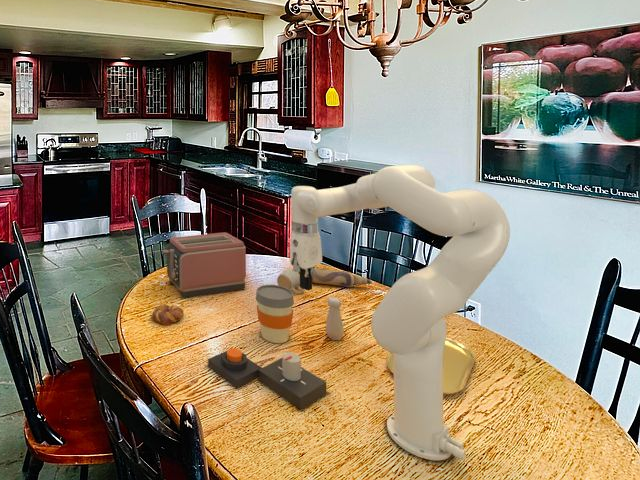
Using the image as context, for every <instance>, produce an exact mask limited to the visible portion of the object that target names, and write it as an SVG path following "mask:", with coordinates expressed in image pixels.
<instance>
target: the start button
mask: <svg viewBox="0 0 640 480" xmlns="http://www.w3.org/2000/svg"><path fill="white" fill-rule="evenodd" d="M226 351H227V359H228V360H229V361H231V362H240V361H242V353H243V352H242V351H241V350H240V349H238V348H234V347H231V348H228V349H227V350H226Z"/></svg>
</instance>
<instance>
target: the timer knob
mask: <svg viewBox="0 0 640 480" xmlns="http://www.w3.org/2000/svg"><path fill="white" fill-rule="evenodd" d="M281 358H282V374H283V376H284V377H285V378H286V379H288V380H291V381H298V380H300V378H301V367H302V366H301V365H302V364H301V363H302V361H301V360H302V359H301V356H300V355H299V354H297V353H294V352H289V351H287V352H283V353H282V354H281Z"/></svg>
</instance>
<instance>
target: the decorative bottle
mask: <svg viewBox="0 0 640 480" xmlns="http://www.w3.org/2000/svg"><path fill="white" fill-rule="evenodd" d="M313 283H314V284H321V285H329V286H330V285H331V286H339V287H344V288H349V289H350V288H352V287H355V286H359V285H364V286H367V285H371V284H372V280H371V279H369V278H367V277H361V276H359V275H353V273H352V272H350V271H346V270H335V269H329V268H317V267H315V268H314V270H313V275H312V284H313Z"/></svg>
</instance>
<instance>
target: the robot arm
mask: <svg viewBox="0 0 640 480" xmlns="http://www.w3.org/2000/svg"><path fill="white" fill-rule="evenodd" d="M435 186H436V181H435V178H434V176H433V174H432V173H431V172H430V170H428V169H427V168H425V167H423V166H421V165H417V164H400V165H389V166H385V167H382V168H381V169H379V170H377V172H375V173H370V174H366V175H363V176H361V177H359V178H358V179H357V181H356V182H355V183H351V184H347V185H343V186H338V187H330V188H322V189H317V188H315V187H313V186H309V185H296V186H293V187H292V188H291V190H290V191H291V192H290V196H291V197H290V199H291V201H290V204H291V205H290V206H291V236H290V244H289V245H290V246H289V261H290V265H291V266H292V269H293V271H294V272H297V273H298V274H299V275H300V287H301V288H303V289H304V290H306V291H310V290H313V283H312V275H313V270H314V268H317V266H320V265H321V264H322V263H323V248H322V238H321V235H320V231H319V218H323V217H329V216H333V215H341V214H347V213H351V212H356V211H357V212H359V211H363V210H368V209H369V210H377V209H382V208H387V207H389V208H390V209H392V210H393V211H394V212H397V213H398V214H399V215H402V216H403V217H405V218H406V219H408V220H410V221H411V222H413V223H415V224H416V225H418V226H419V227H421V228H422V229H425V231H428V232H430V233H432V234H435V235H438V236H442V237H451V238H450V239H449V240H448V241H447V242H446V243H445V244H444V245H443V247H442V248H441V249H440V250H439V252H438V254H437V255H436V256H435V258H434V259H433V260H432V261H431V262H430V263H429V264H428V265H427V266H425V267H422V268H421V269H417V270H414V271H412V272H408V273H406V274H404V275H402V276H401V277H400V278H398V279H397V280H396V281H395V282H394V283H393V284H392V286H391V287H390V289H389V290H388V291H387V292H386V294H385V295H384V297H383V298H382V300H381V301H380V303H379V304H378V305H377V307H376V308H375V310H374V311H373V313H372V316H371V319H370V327H371V329H370V330H371V333H372V336H373V338H374V340H375V341H376V343H377V344H378V345H379V346H380V347H381V348H382V349H384V350H385V351H387V352H388V353H389V354H390V353H393V354H394V374H393V415H391V416H389V417H388V418H387V421H386V429H387V433H388V435H389V436H390V439H392V440H393V442H394V443H395V444H397V446H399V447H400V448H401V449H403V450H405V451H406V452H408V453H409V454H411V455H414V456H416V457H417V458H422V459H424V460H429V461H436V462H437V461H444V460H447V459H450V457H451V456H453V457H456V458H457V459H459V460H460V461H462V462H465V460H466V458H467V451H466V450H464V443H463V442H461V441H460V440H458V439H455V438H454V437H452V436H451V434H450V430H449V429H450V427H449V426H448V425H446V424H445V423H444V395H443V354H444V347H445V342H446V338H447V333H448V332H447V331H448V329H447V321H446V318H447V317H449V316H451V315H454V314H455V313H457V312H458V311H460V310H461V309H462V308H463V307H464V306H465V305H466V303H467V302H468V301H469V299H470V298H471V296H473V294H474V293H475V292H476V291H477V290H478V288H479V287H480V286H481V285H482V284H483V282H484V281H485V279H486V278H487V277H488V275H490V273H491V272H492V271H493V270H494V269H495V267H496V266H497V265H498V263H499V262H500V260H501V259H502V257H503V256H504V255H505V253H506V250H507V248H508V245H509V242H510V236H511V229H510V222H509V219H508V217H507V214H506V213H505V210H504V209H503V208H502V206H501V205H500V203H499V202H498V201H497V200H496V199H495V198H493V196H491V195H489V194H487V193H486V192H483V191H480V190H475V189H458V190H452V191H451V190H450V191H446V192H441V191H439V190H437V189H435ZM300 287H299V288H300ZM301 288H300V289H301Z"/></svg>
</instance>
